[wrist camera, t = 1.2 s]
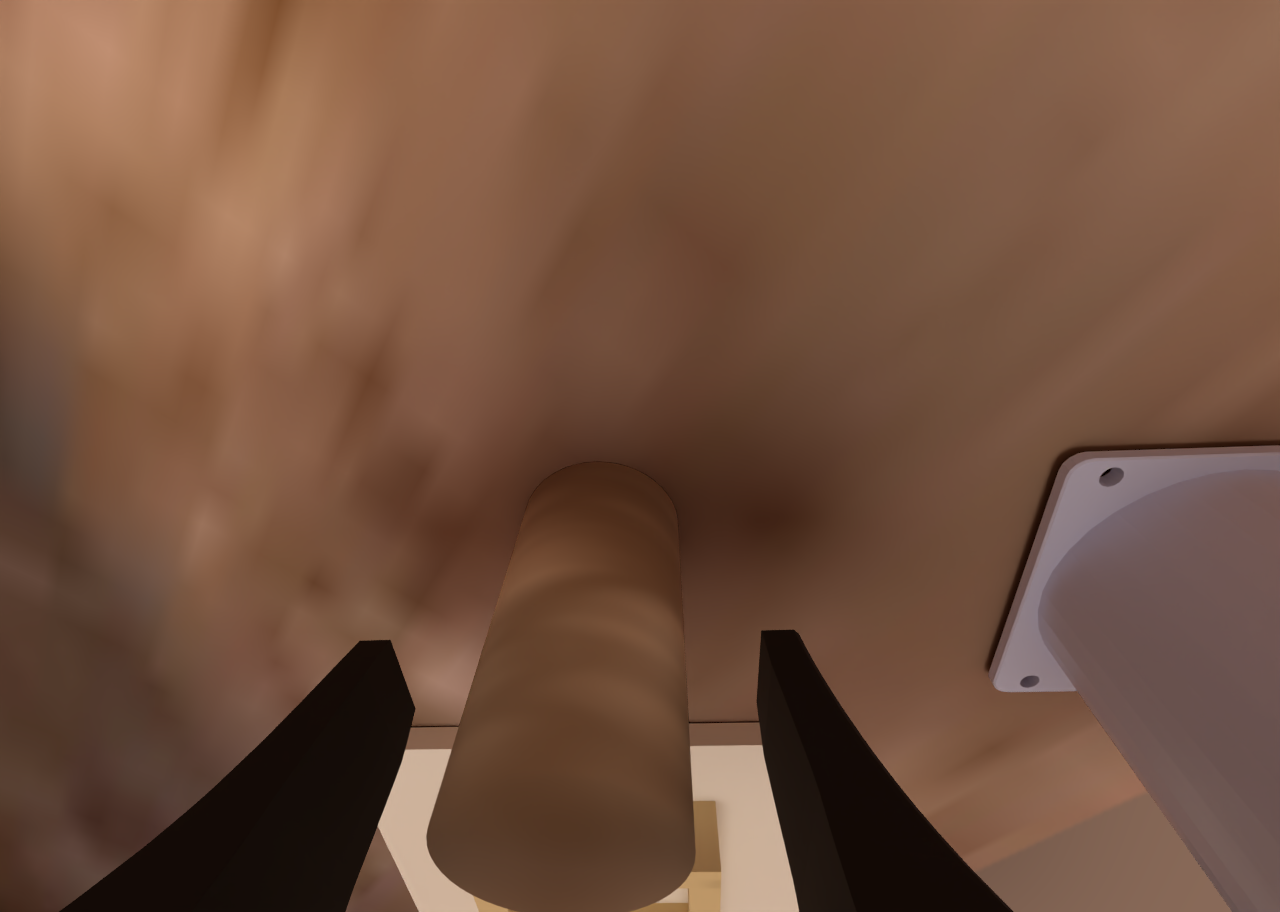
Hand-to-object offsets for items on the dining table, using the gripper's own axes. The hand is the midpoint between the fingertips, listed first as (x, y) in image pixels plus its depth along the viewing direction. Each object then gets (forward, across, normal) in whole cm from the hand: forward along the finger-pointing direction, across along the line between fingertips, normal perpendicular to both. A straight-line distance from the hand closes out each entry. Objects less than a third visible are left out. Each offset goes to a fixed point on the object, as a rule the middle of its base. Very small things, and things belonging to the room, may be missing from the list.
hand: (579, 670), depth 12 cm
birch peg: (+5, 0, 0) cm, 5 cm away
